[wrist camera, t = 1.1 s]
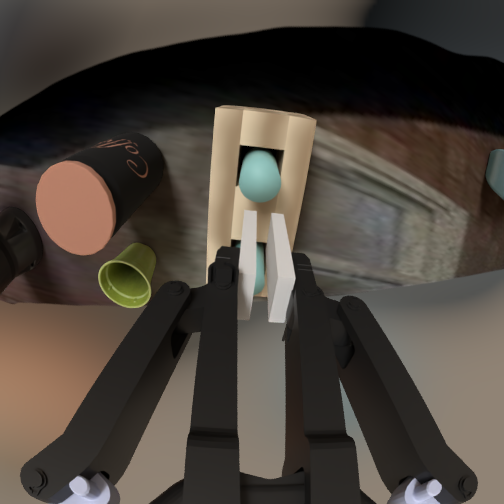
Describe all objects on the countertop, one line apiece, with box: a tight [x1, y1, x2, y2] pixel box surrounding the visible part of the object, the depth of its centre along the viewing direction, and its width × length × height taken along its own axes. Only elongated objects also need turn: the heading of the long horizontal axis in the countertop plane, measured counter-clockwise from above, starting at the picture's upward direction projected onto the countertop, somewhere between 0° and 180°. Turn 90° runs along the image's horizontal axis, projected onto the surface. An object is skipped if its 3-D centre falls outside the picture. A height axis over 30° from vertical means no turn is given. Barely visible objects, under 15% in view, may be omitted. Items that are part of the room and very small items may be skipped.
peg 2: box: [235, 240, 265, 296], centre depth 36 cm, size 4×4×8 cm
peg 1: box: [239, 147, 281, 203], centre depth 30 cm, size 4×4×8 cm
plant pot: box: [98, 243, 156, 308], centre depth 45 cm, size 9×9×9 cm
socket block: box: [206, 105, 317, 297], centre depth 38 cm, size 11×25×9 cm, turn 174°
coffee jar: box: [36, 132, 163, 255], centre depth 32 cm, size 11×11×18 cm
